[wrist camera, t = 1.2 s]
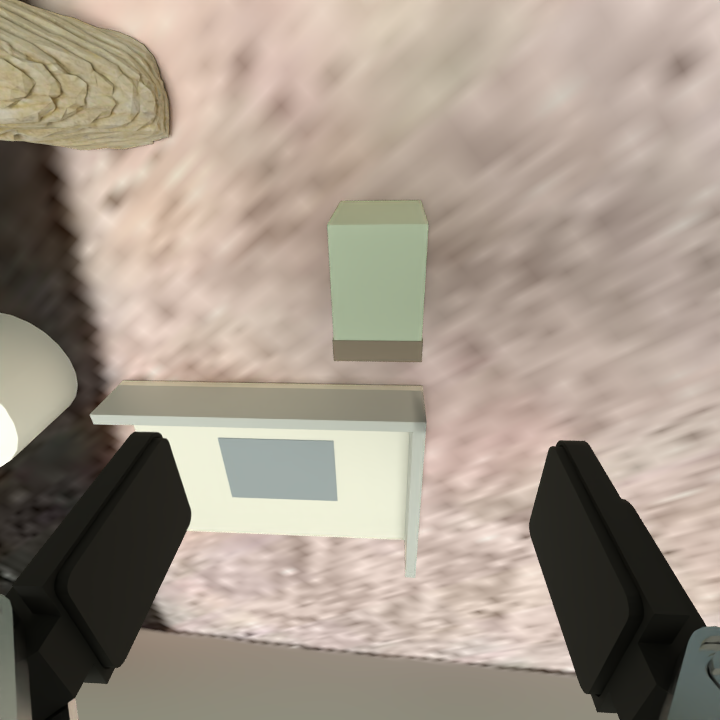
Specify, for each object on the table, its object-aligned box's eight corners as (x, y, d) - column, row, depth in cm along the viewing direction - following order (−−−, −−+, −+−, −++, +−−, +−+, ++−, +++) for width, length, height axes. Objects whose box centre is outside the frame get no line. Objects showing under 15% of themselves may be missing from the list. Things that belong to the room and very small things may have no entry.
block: (421, 200, 24) (429, 224, 19) (415, 314, 28) (421, 361, 22) (339, 200, 24) (325, 225, 19) (344, 313, 28) (333, 360, 23)
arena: (422, 386, 30) (426, 422, 27) (413, 534, 38) (415, 577, 35) (123, 380, 32) (89, 414, 28) (175, 524, 40) (154, 565, 36)
